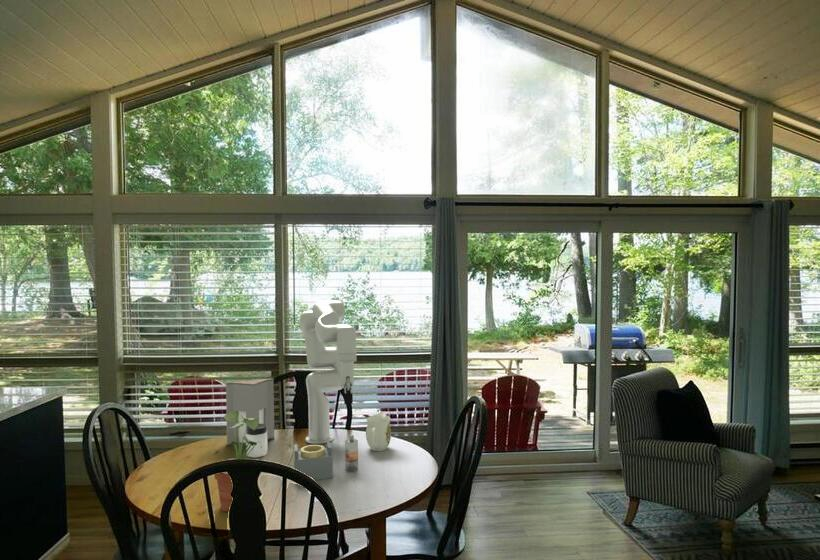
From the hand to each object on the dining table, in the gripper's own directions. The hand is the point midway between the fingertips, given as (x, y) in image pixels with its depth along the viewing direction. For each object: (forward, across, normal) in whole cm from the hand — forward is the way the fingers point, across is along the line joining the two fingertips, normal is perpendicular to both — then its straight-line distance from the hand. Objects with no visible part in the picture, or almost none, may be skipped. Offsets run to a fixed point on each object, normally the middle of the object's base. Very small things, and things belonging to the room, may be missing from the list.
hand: (347, 401), depth 202 cm
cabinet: (+25, -40, -42) cm, 63 cm away
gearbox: (+26, +3, -14) cm, 30 cm away
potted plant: (+27, +25, -37) cm, 53 cm away
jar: (+26, -25, -38) cm, 52 cm away
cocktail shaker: (+26, 0, +1) cm, 26 cm away
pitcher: (+26, -21, +13) cm, 36 cm away
